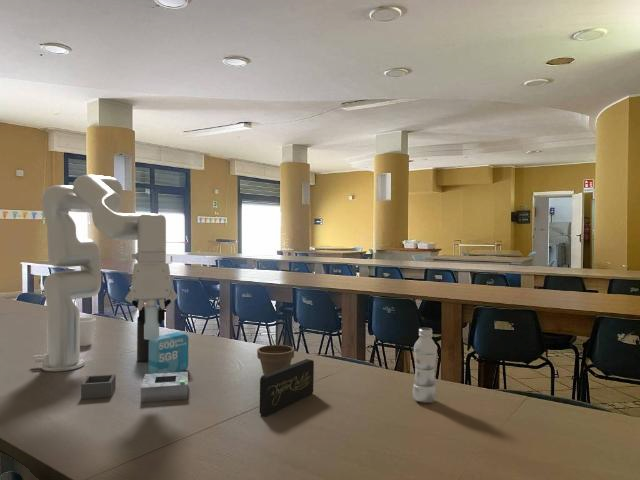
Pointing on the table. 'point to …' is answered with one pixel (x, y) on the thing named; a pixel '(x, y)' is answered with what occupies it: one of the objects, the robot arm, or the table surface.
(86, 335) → the dixie cup
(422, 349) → the plastic bottle
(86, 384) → the grey open box
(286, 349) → the flower pot
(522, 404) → the table surface
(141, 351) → the vinegar
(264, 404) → the nameplate
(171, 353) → the data package
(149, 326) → the plug
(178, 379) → the port
